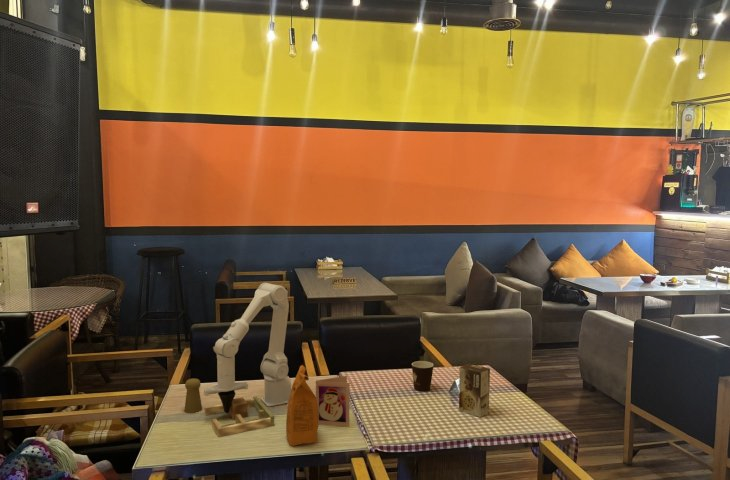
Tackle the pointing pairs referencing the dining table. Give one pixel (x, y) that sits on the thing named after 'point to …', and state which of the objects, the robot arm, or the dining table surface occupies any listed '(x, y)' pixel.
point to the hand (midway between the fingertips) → (226, 412)
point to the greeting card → (333, 401)
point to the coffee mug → (422, 375)
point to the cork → (193, 396)
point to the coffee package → (301, 412)
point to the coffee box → (474, 389)
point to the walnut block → (238, 408)
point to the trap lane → (241, 426)
